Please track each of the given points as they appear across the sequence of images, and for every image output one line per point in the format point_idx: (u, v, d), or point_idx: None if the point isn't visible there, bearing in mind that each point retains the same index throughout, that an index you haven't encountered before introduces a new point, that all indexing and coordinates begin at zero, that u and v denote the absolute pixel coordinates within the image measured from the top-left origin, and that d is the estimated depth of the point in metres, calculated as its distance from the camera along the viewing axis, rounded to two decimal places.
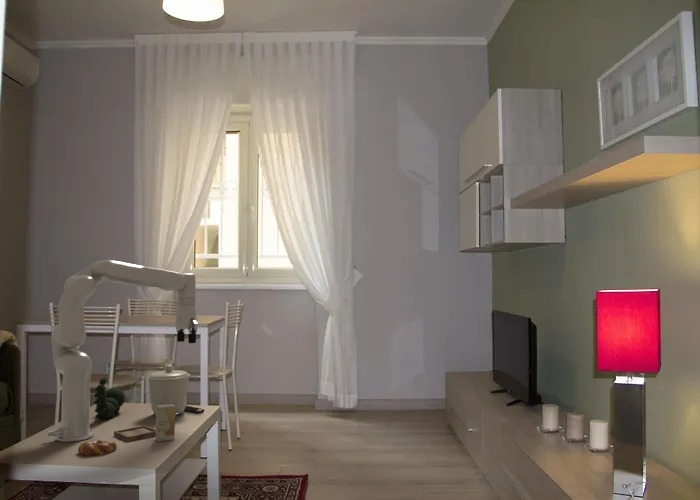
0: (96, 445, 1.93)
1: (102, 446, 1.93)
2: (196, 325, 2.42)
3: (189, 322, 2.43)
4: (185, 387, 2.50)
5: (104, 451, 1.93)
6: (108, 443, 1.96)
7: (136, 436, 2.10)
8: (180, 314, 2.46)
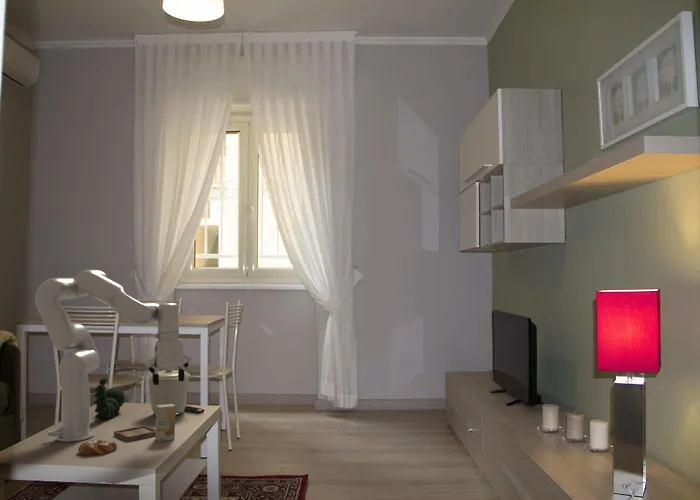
0: (96, 445, 1.93)
1: (102, 446, 1.93)
2: None
3: None
4: (185, 387, 2.50)
5: (104, 451, 1.93)
6: (108, 443, 1.96)
7: (136, 436, 2.10)
8: (171, 350, 2.14)
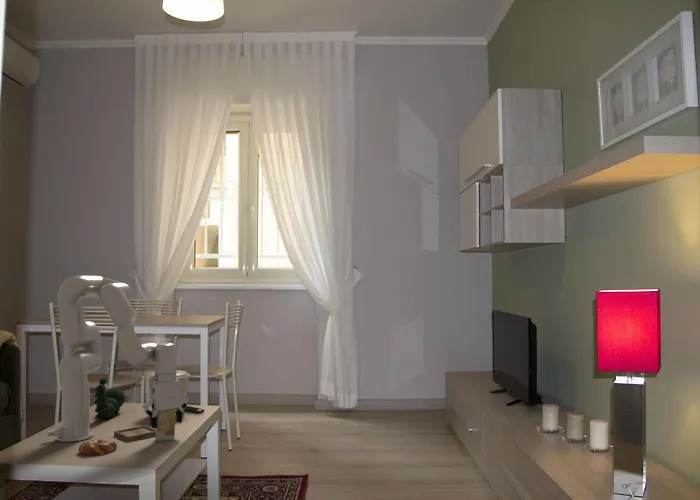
0: (96, 445, 1.94)
1: (102, 446, 1.94)
2: None
3: None
4: (185, 387, 2.50)
5: (104, 451, 1.93)
6: (108, 443, 1.96)
7: (136, 436, 2.10)
8: (169, 392, 2.09)
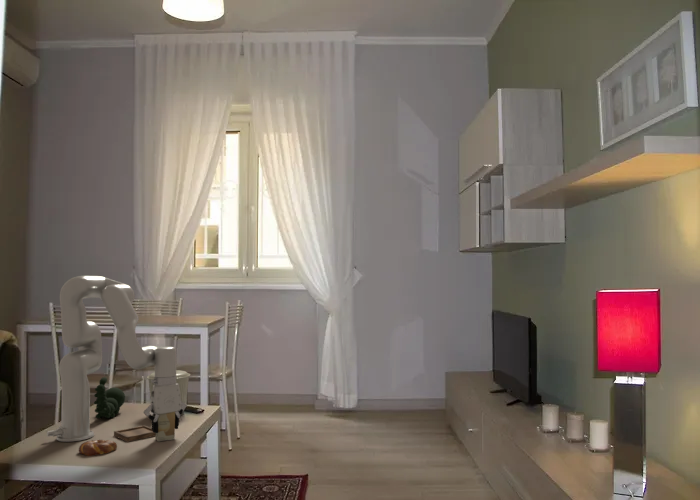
0: (96, 445, 1.94)
1: (102, 446, 1.94)
2: None
3: None
4: (185, 387, 2.50)
5: (104, 451, 1.94)
6: (108, 443, 1.96)
7: (136, 436, 2.10)
8: (168, 395, 2.09)
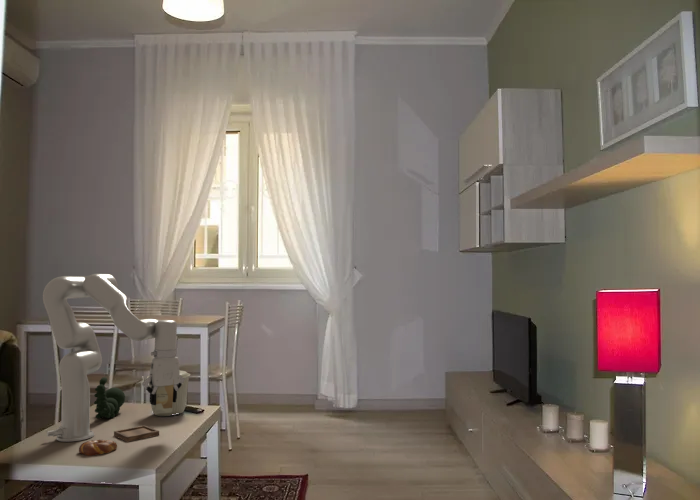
0: (96, 445, 1.94)
1: (102, 445, 1.94)
2: None
3: None
4: (185, 387, 2.50)
5: (105, 450, 1.94)
6: (108, 442, 1.96)
7: (136, 436, 2.10)
8: (167, 368, 2.10)
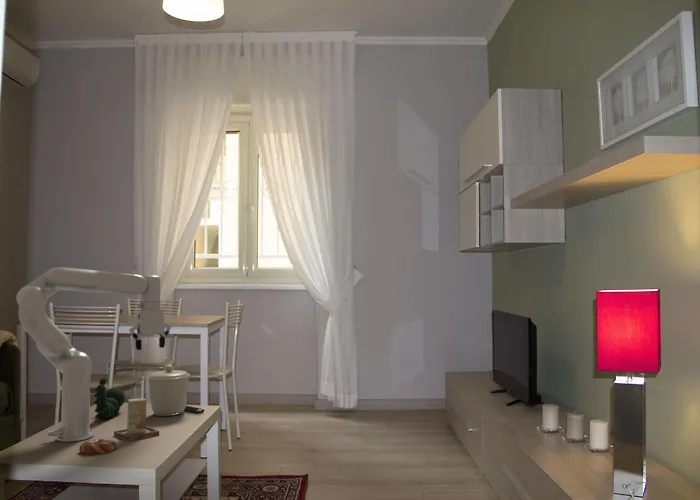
0: (97, 444, 1.94)
1: (103, 445, 1.94)
2: None
3: None
4: (185, 387, 2.50)
5: (105, 450, 1.94)
6: (109, 442, 1.97)
7: (136, 436, 2.10)
8: (153, 318, 2.33)
